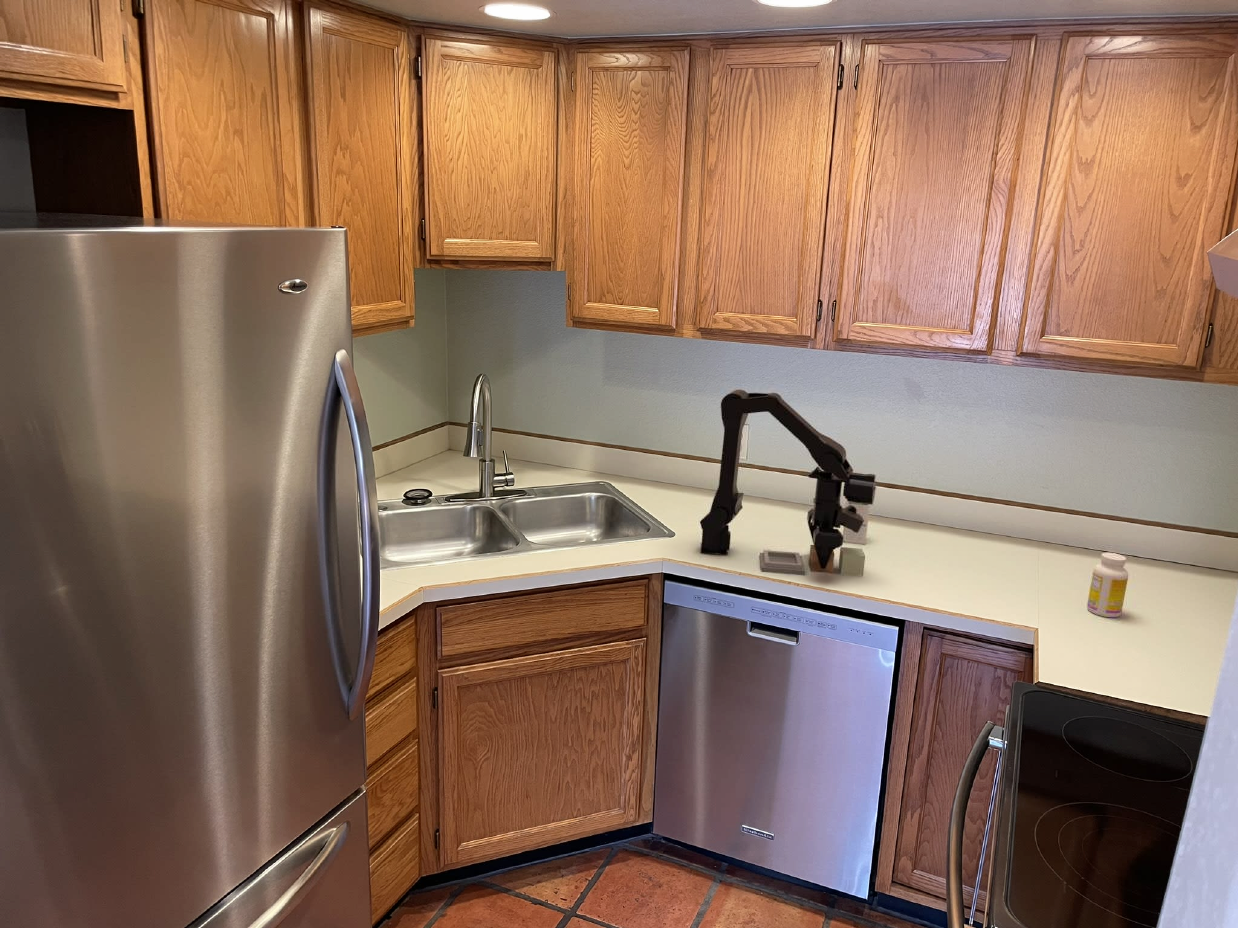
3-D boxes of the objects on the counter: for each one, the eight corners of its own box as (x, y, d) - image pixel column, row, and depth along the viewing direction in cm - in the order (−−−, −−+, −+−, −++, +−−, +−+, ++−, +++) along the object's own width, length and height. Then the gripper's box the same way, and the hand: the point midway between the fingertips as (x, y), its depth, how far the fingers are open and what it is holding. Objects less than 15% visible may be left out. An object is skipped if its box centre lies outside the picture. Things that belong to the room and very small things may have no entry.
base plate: (761, 571, 212) (762, 563, 211) (759, 556, 221) (760, 548, 221) (805, 574, 211) (805, 566, 210) (801, 559, 220) (802, 551, 220)
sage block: (841, 574, 212) (843, 554, 211) (838, 566, 217) (840, 546, 216) (862, 576, 212) (865, 555, 211) (859, 568, 217) (861, 548, 215)
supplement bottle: (1124, 612, 198) (1135, 556, 194) (1116, 621, 193) (1127, 564, 190) (1091, 603, 202) (1101, 548, 199) (1082, 611, 197) (1092, 555, 194)
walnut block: (810, 571, 213) (812, 551, 212) (808, 564, 218) (810, 544, 216) (832, 573, 212) (834, 553, 211) (829, 566, 217) (831, 546, 216)
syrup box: (865, 544, 233) (872, 490, 229) (842, 542, 234) (848, 487, 230) (864, 537, 238) (871, 484, 235) (841, 535, 240) (847, 481, 236)
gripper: (869, 512, 201) (861, 578, 205) (857, 489, 219) (850, 550, 223) (818, 509, 202) (811, 574, 206) (810, 485, 220) (803, 546, 224)
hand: (820, 561), depth 215 cm, fingers open, 9 cm apart
